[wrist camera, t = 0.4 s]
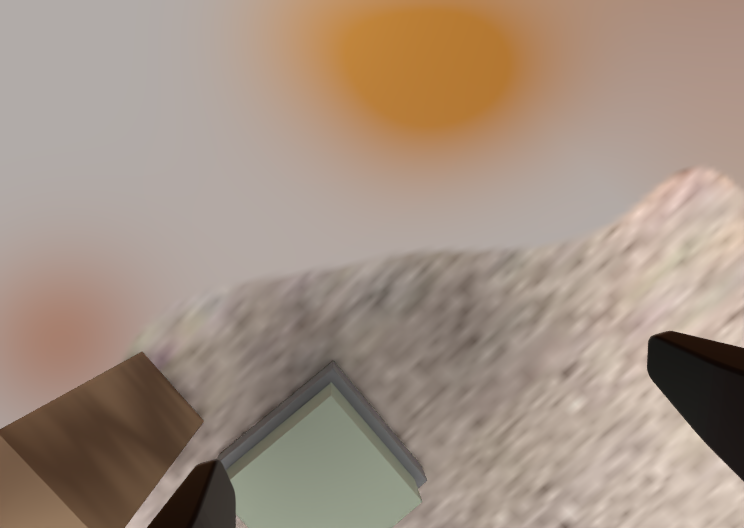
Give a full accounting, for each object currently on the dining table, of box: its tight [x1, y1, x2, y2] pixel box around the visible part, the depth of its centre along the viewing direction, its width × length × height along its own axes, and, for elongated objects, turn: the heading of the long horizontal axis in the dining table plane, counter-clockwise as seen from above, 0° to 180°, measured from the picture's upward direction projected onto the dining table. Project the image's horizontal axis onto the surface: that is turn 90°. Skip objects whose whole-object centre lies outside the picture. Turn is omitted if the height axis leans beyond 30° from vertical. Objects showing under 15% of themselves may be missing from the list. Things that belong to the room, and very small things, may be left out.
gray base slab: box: [217, 361, 427, 488], centre depth 24 cm, size 8×8×2 cm
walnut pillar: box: [0, 352, 204, 528], centre depth 18 cm, size 5×5×10 cm
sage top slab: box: [226, 382, 422, 528], centre depth 22 cm, size 7×7×2 cm
